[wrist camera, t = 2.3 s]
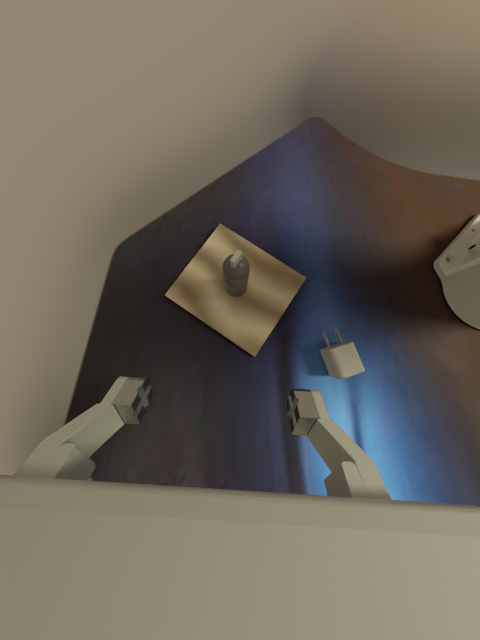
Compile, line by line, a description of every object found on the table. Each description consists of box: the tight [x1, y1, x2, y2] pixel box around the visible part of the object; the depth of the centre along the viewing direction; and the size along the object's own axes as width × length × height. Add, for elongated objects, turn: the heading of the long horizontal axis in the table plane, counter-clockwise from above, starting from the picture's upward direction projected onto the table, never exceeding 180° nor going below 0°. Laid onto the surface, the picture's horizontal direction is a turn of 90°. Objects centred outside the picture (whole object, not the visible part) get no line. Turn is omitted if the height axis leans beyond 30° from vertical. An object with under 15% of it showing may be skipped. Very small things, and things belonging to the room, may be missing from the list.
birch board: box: [165, 224, 306, 357], centre depth 32 cm, size 16×18×1 cm
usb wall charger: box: [320, 328, 365, 379], centre depth 29 cm, size 4×7×4 cm, turn 18°
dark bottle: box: [222, 250, 250, 297], centre depth 26 cm, size 4×4×10 cm
